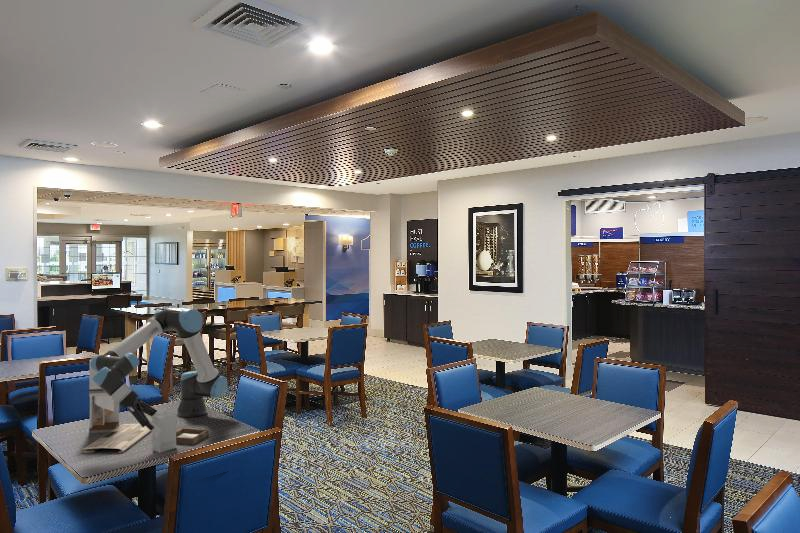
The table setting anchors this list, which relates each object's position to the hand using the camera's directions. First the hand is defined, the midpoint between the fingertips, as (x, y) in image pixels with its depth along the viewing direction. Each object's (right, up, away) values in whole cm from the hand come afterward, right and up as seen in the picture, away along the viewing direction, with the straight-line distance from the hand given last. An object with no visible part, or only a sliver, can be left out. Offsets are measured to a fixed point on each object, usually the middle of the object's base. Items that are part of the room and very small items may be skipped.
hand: (161, 429), depth 246 cm
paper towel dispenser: (-41, -9, +29) cm, 51 cm away
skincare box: (+1, -9, +1) cm, 10 cm away
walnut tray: (+5, -9, +15) cm, 19 cm away
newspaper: (-24, -10, +14) cm, 29 cm away
